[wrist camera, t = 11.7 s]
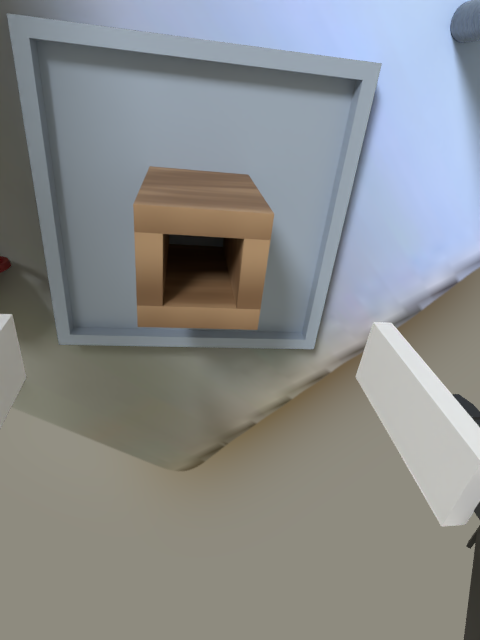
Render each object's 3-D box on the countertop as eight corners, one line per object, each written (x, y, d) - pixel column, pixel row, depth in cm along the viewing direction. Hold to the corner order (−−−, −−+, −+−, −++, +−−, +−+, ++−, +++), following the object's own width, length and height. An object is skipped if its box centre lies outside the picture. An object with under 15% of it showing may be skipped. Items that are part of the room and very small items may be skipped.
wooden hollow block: (149, 166, 28) (133, 204, 19) (248, 174, 29) (274, 213, 20) (151, 278, 32) (138, 349, 23) (236, 281, 33) (254, 351, 25)
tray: (65, 331, 34) (58, 344, 33) (19, 17, 23) (6, 13, 22) (307, 337, 38) (313, 349, 36) (369, 64, 27) (381, 63, 25)
